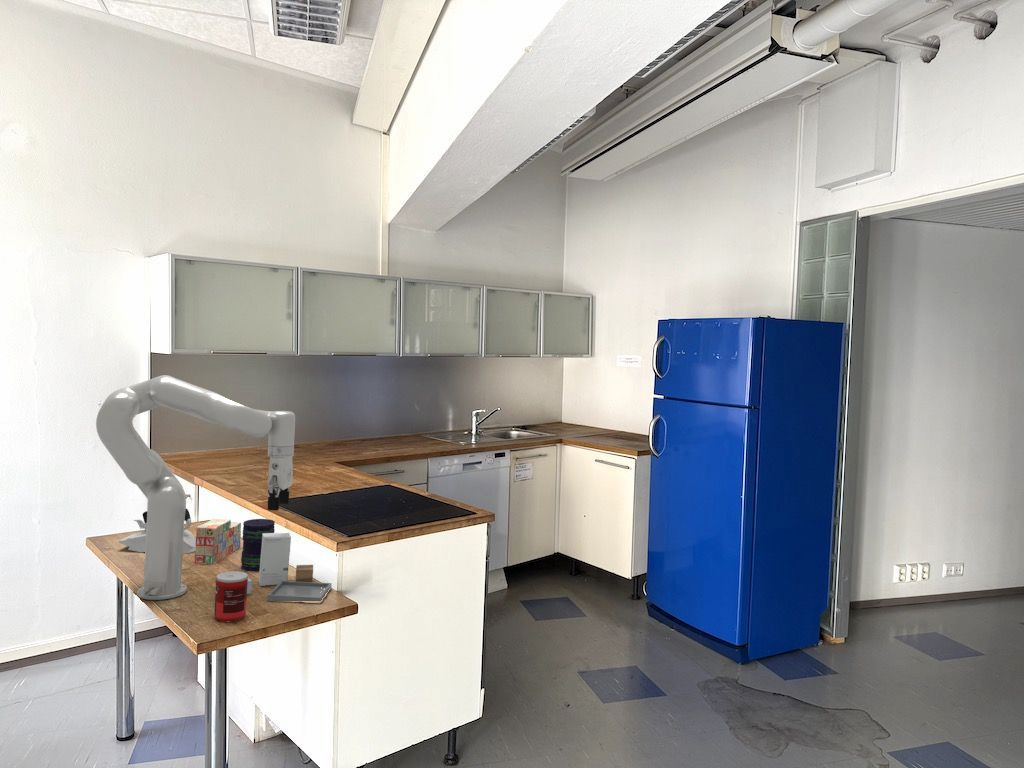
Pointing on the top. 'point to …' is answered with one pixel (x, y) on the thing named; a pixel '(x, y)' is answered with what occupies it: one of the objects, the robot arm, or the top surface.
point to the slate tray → (298, 591)
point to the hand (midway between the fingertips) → (278, 506)
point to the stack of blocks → (216, 540)
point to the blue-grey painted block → (249, 586)
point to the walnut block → (304, 573)
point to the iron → (139, 540)
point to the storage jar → (254, 542)
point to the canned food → (230, 596)
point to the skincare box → (274, 558)
